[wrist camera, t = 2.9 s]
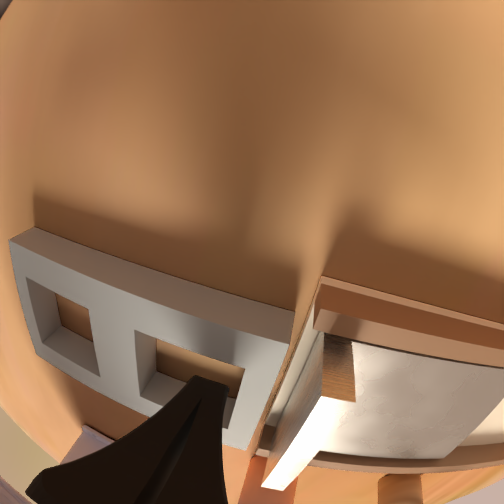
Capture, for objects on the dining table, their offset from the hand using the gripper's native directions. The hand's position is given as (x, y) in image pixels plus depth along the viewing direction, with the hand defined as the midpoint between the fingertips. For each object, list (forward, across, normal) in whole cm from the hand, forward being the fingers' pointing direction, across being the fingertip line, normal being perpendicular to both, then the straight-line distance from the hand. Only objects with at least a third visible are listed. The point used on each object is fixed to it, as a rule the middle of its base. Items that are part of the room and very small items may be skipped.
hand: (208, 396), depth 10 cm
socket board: (+3, +5, +1) cm, 6 cm away
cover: (+2, -8, 0) cm, 9 cm away
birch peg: (+3, -15, +10) cm, 18 cm away
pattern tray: (+3, -12, 0) cm, 13 cm away
